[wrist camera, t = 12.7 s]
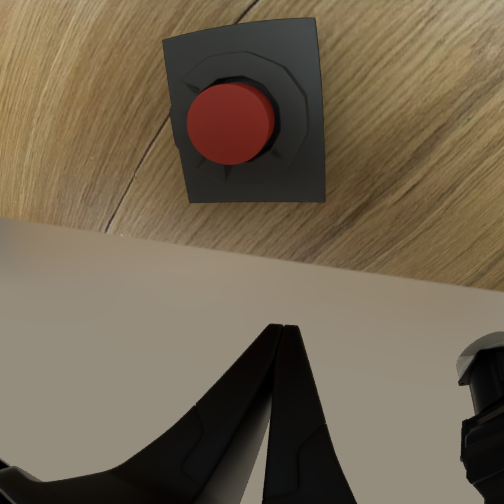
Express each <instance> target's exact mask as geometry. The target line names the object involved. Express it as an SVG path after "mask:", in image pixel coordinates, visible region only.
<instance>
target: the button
mask: <svg viewBox="0 0 504 504" xmlns="http://www.w3.org/2000/svg"><path fill="white" fill-rule="evenodd" d="M274 126H275V114H274V110H273V106H272V104H271V102H270V101H269V99H268V98H267V96H266V95H265V94H264V93H263V92H262V91H261V90H259V89H258V88H256V87H254V86H252V85H249V84H246V83H240V82H234V83H226V84H219V85H215V86H212V87H210V88H208V89H206V90H204V91H203V92H201V93H200V94H199V95H198V96H197V97H196V99H195V100H194V101H193V103H192V104H191V107H190V109H189V112H188V117H187V130H188V134H189V137H190V140H191V142H192V143H193V145H194V147H195V148H196V149H197V150H198V151H199V152H200V153H201V154H202V155H203V156H204V157H206V158H207V159H209V160H211V161H213V162H216V163H220V164H225V165H234V164H240V163H243V162H246V161H248V160H250V159H251V158H253V157H254V156H255V155H257V154H258V153H259V152H260V150H261V149H262V148H263V146H264V145H265V144H266V143H267V141H268V140H269V138H270V137H271V135H272V133H273V130H274Z"/></svg>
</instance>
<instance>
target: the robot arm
mask: <svg viewBox="0 0 504 504" xmlns="http://www.w3.org/2000/svg"><path fill="white" fill-rule="evenodd" d="M458 384H459V386H464V385H469V387H470V391H471V396H472V401H473V406H474V411H475V416H473V417H472V418H470V419H466V420H464V421H462V430H461V431H462V432H461V456H460V461H461V462H463V464H464V466H465V469H466V470H467V472H466V478H467V479H468V481H469V482H470V483H471V484H473V486H474V487H475V488H476V489H477V490H478V491H479V493H480V494H481V495H482V496H483V497H484V504H504V347H498V348H489V349H481V350H479V351H478V352H477V353H476V355H475V356H474V358H473V360H472V361H471V363H470V364H469V366H468V368H467V369H466V371H465V372H464V374H463V375H462V377H461V378H460V380H459V381H458ZM269 419H270V427H269V438H268V449H267V460H266V469H265V479H264V488H263V500H262V504H357V502H356V500H355V498H354V496H353V493H352V491H351V489H350V487H349V484H348V482H347V480H346V478H345V476H344V474H343V471H342V469H341V466H340V464H339V461H338V459H337V456H336V453H335V451H334V448H333V444H332V441H331V438H330V434H329V431H328V427H327V424H325V423H326V421H325V417H324V413H323V410H322V406H321V403H320V399H319V396H318V392H317V388H316V385H315V381H314V377H313V374H312V370H311V367H310V363H309V360H308V357H307V353H306V350H305V346H304V343H303V339H302V336H301V333H300V329H299V327H298V326H297V325H285V326H283V325H281V324H269V325H268V326H267V327H266V328H265V329H264V330H263V331H262V333H261V334H260V335H259V336H258V337H257V338H256V339H255V341H254V342H253V343H252V344H251V345H250V346H249V347H248V348H247V349H246V350H245V352H244V353H243V354H242V355H241V356H240V357H239V358H238V359H237V361H236V362H235V363H234V364H233V365H232V366H231V367H230V368H229V369H228V370H227V371H226V372H225V374H223V376H222V377H221V378H220V379H219V380H218V381H217V382H216V383H215V384H214V385H213V386H212V387H211V388H210V389H209V390H208V391H207V392H206V394H205V395H204V396H203V397H202V398H201V399H200V400H199V401H198V402H197V403H196V406H195V405H194V406H193V407H192V408H191V409H190V410H189V411H188V412H187V413H186V414H185V415H184V416H183V417H182V418H181V419H180V420H179V421H178V422H176V423H175V424H174V425H173V426H172V427H171V428H170V429H168V430H167V431H166V432H165V433H164V434H162V435H161V436H160V437H158V438H157V439H156V440H154V441H153V442H152V443H151V444H149V445H148V446H146V447H145V448H144V449H142V450H141V451H140V452H138V453H137V454H135V455H134V456H133V457H131V458H130V459H128V460H127V461H125V462H124V463H122V464H121V465H119V466H117V467H115V468H112V469H110V470H107V471H104V472H99V473H95V474H91V475H85V476H80V477H75V478H70V479H64V480H57V481H50V482H43V481H41V480H39V479H37V478H36V477H34V476H32V475H31V474H29V473H27V472H26V471H24V470H22V469H20V468H19V467H16V466H12V467H11V466H10V465H9V464H7V463H6V462H5V461H3V460H2V459H0V504H240V502H241V499H242V496H243V494H244V491H245V488H246V485H247V483H248V480H249V477H250V475H251V472H252V469H253V467H254V464H255V461H256V458H257V455H258V452H259V449H260V446H261V443H262V440H263V438H264V434H265V432H266V428H267V425H268V422H269Z"/></svg>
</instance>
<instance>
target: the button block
mask: <svg viewBox="0 0 504 504" xmlns="http://www.w3.org/2000/svg"><path fill="white" fill-rule="evenodd" d="M162 43H163V50H164V58H165V65H166V72H167V79H168V86H169V92H170V99H171V108H170V118H171V124H172V129H173V135H174V141H175V145H176V146H177V148H178V149H179V152H180V157H181V162H182V168H183V173H184V178H185V183H186V188H187V193H188V198H189V203H215V202H323V203H324V202H325V140H324V116H323V98H322V83H321V70H320V58H319V47H318V37H317V28H316V20H315V18H289V19H275V20H264V21H255V22H247V23H240V24H233V25H227V26H221V27H216V28H211V29H206V30H201V31H196V32H192V33H187V34H183V35H179V36H175V37H171V38H168V39H164V40H162ZM234 82H240V83H246V84H249V85H252V86H254V87H256V88H258V89H259V90H261V91H262V92H263V93H264V94H265V95H266V96H267V98H268V99H269V101H270V102H271V104H272V106H273V110H274V114H275V126H274V130H273V133H272V135H271V137H270V138H269V140H268V141H267V143H266V144H265V145H264V146H263V148H262V149H261V150H260V152H259V153H258V154H257V155H255V156H254V157H253V158H251V159H250V160H248V161H246V162H243V163H240V164H234V165H225V164H220V163H216V162H213V161H211V160H209V159H207V158H206V157H204V156H203V155H202V154H201V153H200V152H199V151H198V150H197V149H196V148H195V147H194V145H193V143H192V142H191V140H190V137H189V134H188V130H187V117H188V112H189V109H190V107H191V104H192V103H193V101H194V100H195V99H196V97H197V96H198V95H199V94H200V93H201V92H203V91H204V90H206V89H208V88H210V87H212V86H215V85H219V84H226V83H234Z"/></svg>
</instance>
